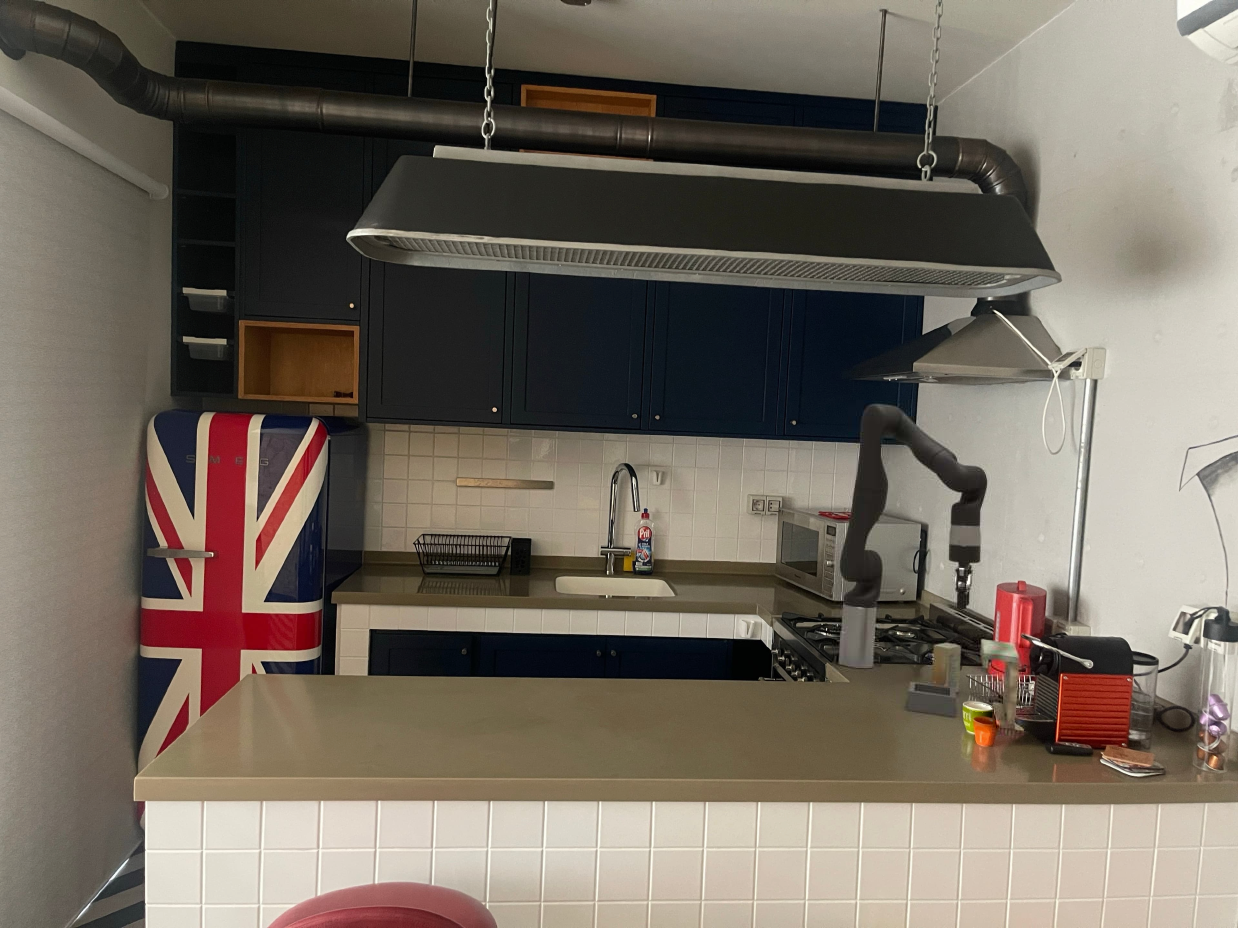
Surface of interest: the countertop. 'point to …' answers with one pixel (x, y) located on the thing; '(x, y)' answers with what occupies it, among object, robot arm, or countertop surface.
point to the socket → (932, 699)
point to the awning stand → (1011, 658)
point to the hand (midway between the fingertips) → (963, 606)
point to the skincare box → (946, 665)
